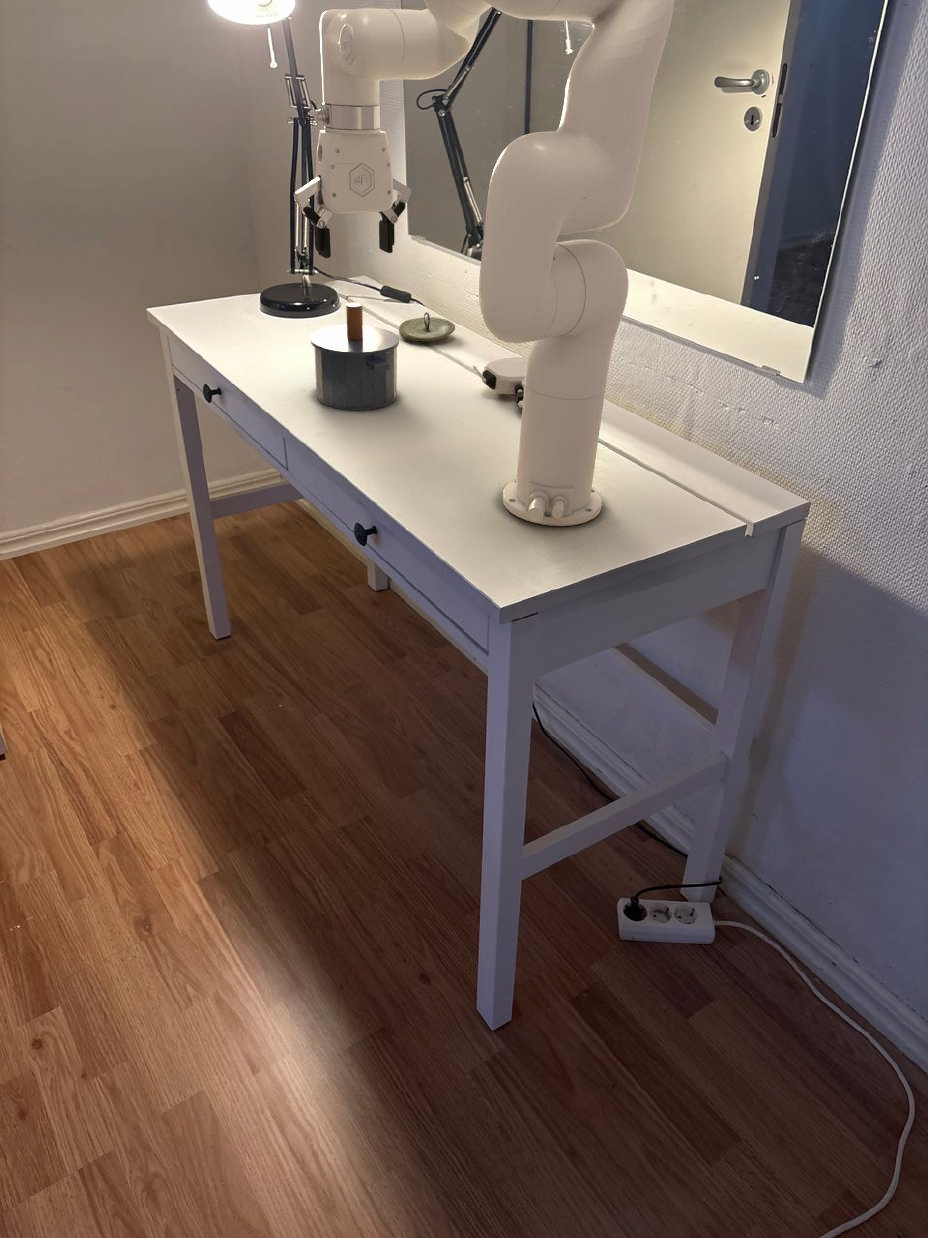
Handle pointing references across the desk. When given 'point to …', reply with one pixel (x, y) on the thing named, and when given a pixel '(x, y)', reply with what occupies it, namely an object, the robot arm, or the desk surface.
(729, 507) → the desk surface
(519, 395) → the robot toy
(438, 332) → the lid
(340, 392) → the pot
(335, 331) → the pot lid
